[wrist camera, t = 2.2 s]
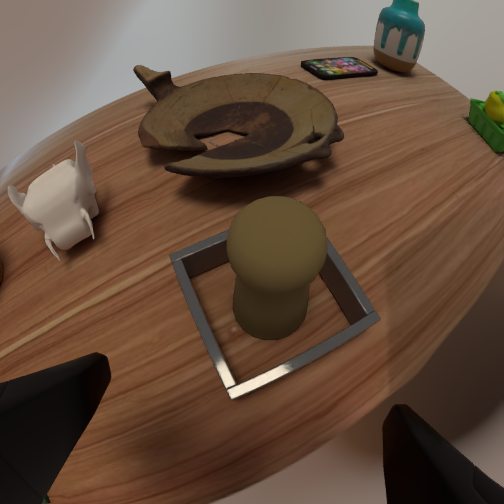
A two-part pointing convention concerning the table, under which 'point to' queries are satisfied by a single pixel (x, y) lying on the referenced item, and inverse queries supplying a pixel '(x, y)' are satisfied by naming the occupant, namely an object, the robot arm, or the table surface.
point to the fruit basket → (489, 119)
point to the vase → (399, 36)
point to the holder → (360, 319)
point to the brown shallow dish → (238, 122)
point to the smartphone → (338, 67)
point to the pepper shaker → (274, 264)
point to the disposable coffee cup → (1, 272)
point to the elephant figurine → (61, 202)
